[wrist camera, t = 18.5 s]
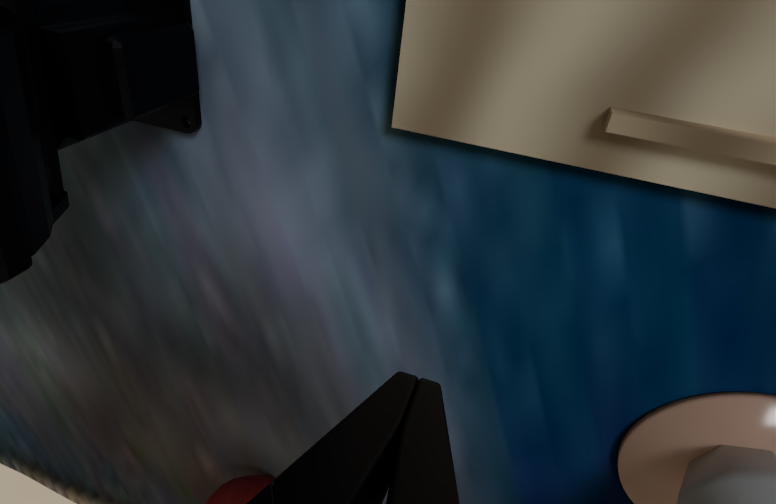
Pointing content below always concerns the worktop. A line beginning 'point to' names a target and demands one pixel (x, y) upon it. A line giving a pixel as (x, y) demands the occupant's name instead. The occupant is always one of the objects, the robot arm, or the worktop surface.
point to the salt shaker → (730, 477)
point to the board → (602, 86)
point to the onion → (240, 490)
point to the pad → (690, 439)
